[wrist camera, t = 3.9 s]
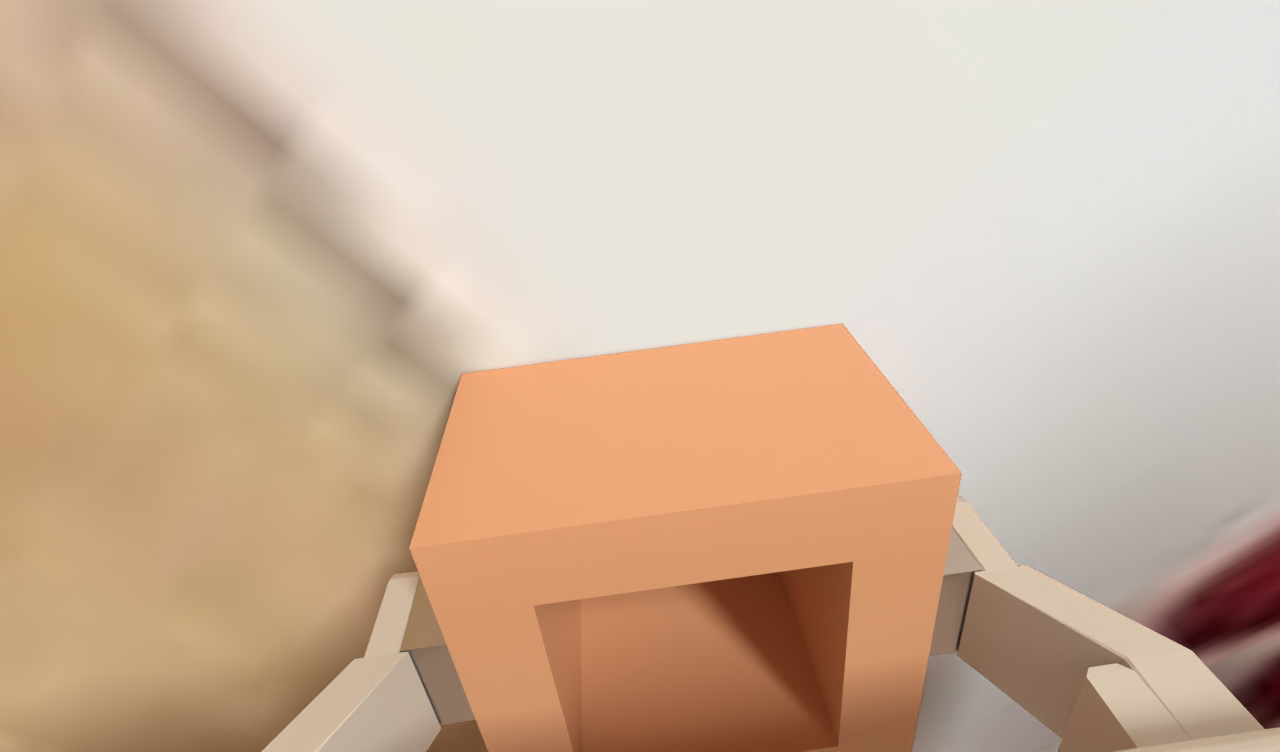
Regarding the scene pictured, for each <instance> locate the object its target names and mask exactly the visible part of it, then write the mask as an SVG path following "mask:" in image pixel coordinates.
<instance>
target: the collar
mask: <svg viewBox="0 0 1280 752" xmlns="http://www.w3.org/2000/svg"><path fill="white" fill-rule="evenodd" d="M961 474H962V473H961V472H960V470H959V469H958V468H957V467H956V465H955V464H954V463H953V462H952V460H951V459H950V458H949V457H948V455H947V454H946V453H945V452H944V450H943V449H942V448H941V447H940V445H939V444H938V443H937V442H936V440H935V439H934V438H933V437H932V435H931V434H930V433H929V431H928V430H927V429H926V428H925V426H924V425H923V424H922V423H921V421H920V420H919V419H918V418H917V416H916V415H915V414H914V413H913V411H912V410H911V409H910V408H909V406H908V405H907V404H906V403H905V401H904V400H903V399H902V398H901V396H900V395H899V394H898V392H897V391H896V390H895V389H894V387H893V386H892V385H891V384H890V382H889V381H888V380H887V379H886V377H885V376H884V375H883V374H882V372H881V371H880V370H879V369H878V367H877V366H876V365H875V364H874V362H873V361H872V360H871V359H870V357H869V356H868V355H867V353H866V352H865V351H864V350H863V348H862V347H861V346H860V345H859V343H858V342H857V341H856V340H855V338H854V337H853V336H852V335H851V333H850V332H849V331H848V330H847V328H846V327H845V326H844V325H843V324H836V325H828V326H821V327H813V328H805V329H798V330H790V331H783V332H775V333H768V334H760V335H752V336H745V337H737V338H730V339H722V340H714V341H707V342H699V343H692V344H684V345H677V346H669V347H661V348H654V349H646V350H639V351H631V352H623V353H616V354H608V355H601V356H593V357H586V358H578V359H570V360H563V361H555V362H548V363H540V364H532V365H525V366H517V367H510V368H502V369H495V370H487V371H479V372H472V373H464V374H462V375H461V379H460V382H459V385H458V389H457V392H456V395H455V399H454V402H453V405H452V408H451V412H450V415H449V418H448V422H447V425H446V428H445V432H444V435H443V438H442V442H441V445H440V448H439V451H438V455H437V458H436V461H435V465H434V468H433V471H432V475H431V478H430V481H429V485H428V488H427V491H426V495H425V498H424V501H423V504H422V508H421V511H420V514H419V518H418V521H417V524H416V528H415V531H414V534H413V538H412V541H411V544H410V547H409V549H410V552H411V554H412V557H413V559H414V562H415V565H416V567H417V570H418V572H419V575H420V578H421V580H422V583H423V585H424V588H425V590H426V593H427V596H428V598H429V601H430V603H431V606H432V609H433V611H434V614H435V616H436V619H437V621H438V624H439V627H440V629H441V632H442V634H443V637H444V640H445V642H446V645H447V647H448V650H449V652H450V655H451V658H452V660H453V663H454V665H455V668H456V670H457V673H458V676H459V678H460V681H461V683H462V686H463V689H464V691H465V694H466V696H467V699H468V701H469V704H470V707H471V709H472V712H473V714H474V717H475V720H476V722H477V725H478V727H479V730H480V732H481V735H482V738H483V740H484V743H485V745H486V748H487V751H488V752H912V748H913V743H914V737H915V731H916V726H917V720H918V715H919V709H920V704H921V698H922V692H923V687H924V681H925V676H926V670H927V664H928V659H929V653H930V648H931V642H932V636H933V631H934V625H935V620H936V614H937V609H938V603H939V597H940V592H941V586H942V581H943V575H944V569H945V564H946V558H947V553H948V547H949V541H950V536H951V530H952V525H953V519H954V514H955V508H956V502H957V497H958V491H959V486H960V480H961Z"/></svg>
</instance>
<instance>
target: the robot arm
mask: <svg viewBox="0 0 1280 752" xmlns="http://www.w3.org/2000/svg"><path fill="white" fill-rule="evenodd" d="M957 652H958V654H957V655H958V656H959V657H960V658H962V659H963V660H964V661H965V662H967V663H968V664H969V665H970V666H972V667H973V668H974V669H975V670H977V671H978V672H979V673H980V674H982V675H983V676H984V677H985V678H987V679H988V680H989V681H991V682H992V683H993V684H994V685H996V686H997V687H998V688H999V689H1001V690H1002V691H1003V692H1004V693H1006V694H1007V695H1008V696H1009V697H1011V698H1012V699H1013V700H1014V701H1016V702H1017V703H1018V704H1019V705H1021V706H1022V707H1023V708H1024V709H1026V710H1027V711H1028V712H1029V713H1031V714H1032V715H1033V716H1034V717H1036V718H1037V719H1038V720H1040V721H1041V722H1042V723H1043V724H1045V725H1046V726H1047V727H1048V728H1050V729H1051V730H1052V731H1053V732H1055V733H1056V734H1057V735H1058V736H1060V737H1061V738H1062V741H1061V744H1060V747H1059V750H1058V752H1280V727H1278V728H1271V729H1264V728H1263V727H1262V726H1261V724H1260V723H1259V722H1258V721H1257V720H1256V719H1255V718H1254V717H1253V716H1252V715H1251V714H1250V713H1249V712H1248V711H1247V709H1246V708H1245V707H1244V706H1243V705H1242V704H1241V703H1240V702H1239V701H1238V700H1237V699H1236V698H1235V697H1234V695H1233V694H1232V693H1231V692H1230V691H1229V690H1228V689H1227V688H1226V687H1225V686H1224V685H1223V684H1222V683H1221V681H1220V680H1219V679H1218V678H1217V677H1216V676H1215V675H1214V674H1213V673H1212V672H1211V671H1210V670H1209V669H1208V668H1207V666H1206V665H1205V664H1204V663H1203V662H1202V661H1201V660H1200V659H1199V658H1198V657H1197V656H1196V655H1195V654H1194V652H1193V651H1191V650H1189V649H1187V648H1186V647H1184V646H1182V645H1180V644H1178V643H1176V642H1174V641H1172V640H1170V639H1168V638H1166V637H1164V636H1162V635H1160V634H1159V633H1157V632H1155V631H1153V630H1151V629H1149V628H1147V627H1145V626H1143V625H1141V624H1139V623H1137V622H1135V621H1133V620H1131V619H1130V618H1128V617H1126V616H1124V615H1122V614H1120V613H1118V612H1116V611H1114V610H1112V609H1110V608H1108V607H1106V606H1104V605H1103V604H1101V603H1099V602H1097V601H1095V600H1093V599H1091V598H1089V597H1087V596H1085V595H1083V594H1081V593H1079V592H1077V591H1075V590H1074V589H1072V588H1070V587H1068V586H1066V585H1064V584H1062V583H1060V582H1058V581H1056V580H1054V579H1052V578H1050V577H1048V576H1047V575H1045V574H1043V573H1041V572H1039V571H1037V570H1035V569H1033V568H1031V567H1029V566H1027V565H1025V566H1017V565H1016V563H1015V562H1014V561H1013V560H1012V558H1011V557H1010V556H1009V554H1008V553H1007V552H1006V551H1005V549H1004V548H1003V547H1002V546H1001V544H1000V543H999V542H998V540H997V539H996V538H995V537H994V535H993V534H992V533H991V531H990V530H989V529H988V528H987V526H986V525H985V524H984V522H983V521H982V520H981V519H980V517H979V516H978V515H977V513H976V512H975V511H974V510H973V508H972V507H971V506H970V504H969V503H968V502H967V501H966V499H964V498H962V497H960V496H958V497H957V502H956V508H955V514H954V519H953V525H952V530H951V536H950V541H949V547H948V553H947V558H946V564H945V569H944V575H943V581H942V586H941V592H940V597H939V603H938V609H937V614H936V620H935V625H934V631H933V636H932V642H931V648H930V653H929V656H930V655H939V654H948V653H957ZM470 720H475V717H474V714H473V712H472V709H471V707H470V704H469V701H468V699H467V696H466V694H465V691H464V689H463V686H462V683H461V681H460V678H459V676H458V673H457V670H456V668H455V665H454V663H453V660H452V658H451V655H450V652H449V650H448V647H447V645H446V642H445V640H444V637H443V634H442V632H441V629H440V627H439V624H438V621H437V619H436V616H435V614H434V611H433V609H432V606H431V603H430V601H429V598H428V596H427V593H426V590H425V588H424V585H423V583H422V580H421V578H420V575H419V572H418V571H415V572H406V573H397V574H394V575H393V576H392V577H391V579H390V580H389V581H388V584H387V587H386V590H385V593H384V596H383V599H382V602H381V605H380V608H379V611H378V614H377V618H376V621H375V624H374V627H373V630H372V633H371V636H370V639H369V642H368V645H367V648H366V651H365V654H364V658H358V659H354V660H353V661H352V662H351V663H350V664H349V665H348V666H347V667H346V668H345V669H344V670H343V671H342V672H341V673H340V674H339V675H338V676H337V677H336V678H335V679H334V680H333V681H332V682H331V683H330V684H329V685H328V686H327V687H326V688H325V689H324V690H323V691H322V692H321V693H320V694H319V695H318V696H317V697H316V698H315V699H314V700H313V701H312V702H311V703H310V704H309V705H308V706H307V707H306V708H305V709H304V710H303V711H302V712H301V713H300V714H299V715H298V716H297V717H296V718H295V719H294V720H293V721H292V722H291V723H290V724H289V725H288V726H287V727H286V728H285V729H284V730H283V731H282V732H281V733H280V734H279V735H278V736H276V737H275V738H274V739H273V740H272V741H271V742H270V743H269V744H268V745H267V746H266V747H265V748H264V749H263V750H262V751H261V752H426V751H427V750H428V748H429V747H430V745H431V744H432V742H433V741H434V739H435V738H436V736H437V735H438V733H439V732H440V730H441V725H447V724H453V723H459V722H465V721H470Z"/></svg>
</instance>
